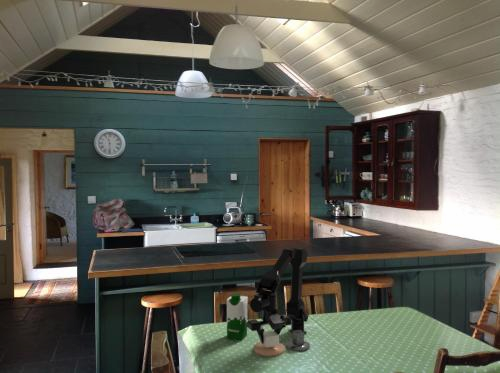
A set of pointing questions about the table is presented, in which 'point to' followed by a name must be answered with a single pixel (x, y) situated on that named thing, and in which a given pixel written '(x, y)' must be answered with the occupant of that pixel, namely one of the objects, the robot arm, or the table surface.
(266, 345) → the cream colored cube
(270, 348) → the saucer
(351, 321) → the table surface
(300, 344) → the grey rounded piece
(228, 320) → the milk carton
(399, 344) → the table surface
